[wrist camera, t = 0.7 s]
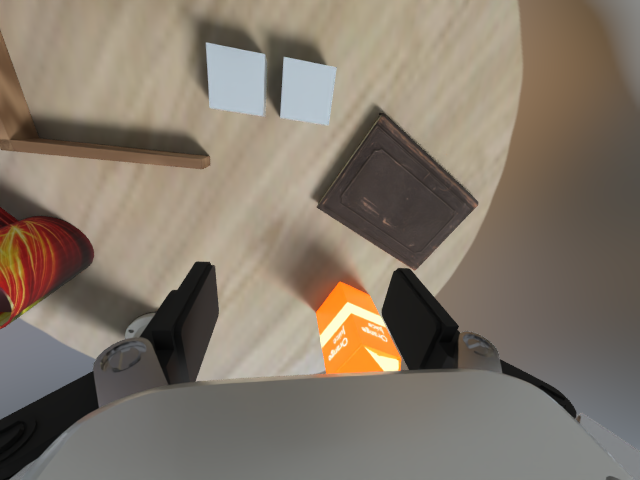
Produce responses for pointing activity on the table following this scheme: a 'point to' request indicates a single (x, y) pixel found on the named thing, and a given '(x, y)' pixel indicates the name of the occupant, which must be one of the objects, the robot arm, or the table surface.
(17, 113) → the frame
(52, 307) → the table surface
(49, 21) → the table surface
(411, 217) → the hardcover book
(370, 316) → the orange juice
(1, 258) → the mug
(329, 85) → the tile
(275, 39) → the table surface
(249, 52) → the tile
